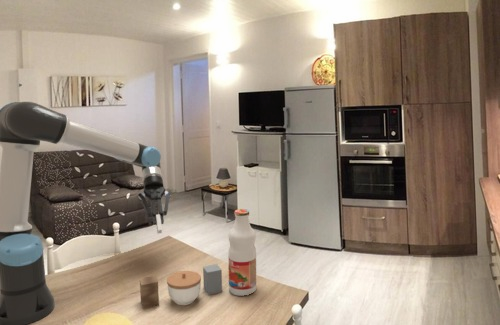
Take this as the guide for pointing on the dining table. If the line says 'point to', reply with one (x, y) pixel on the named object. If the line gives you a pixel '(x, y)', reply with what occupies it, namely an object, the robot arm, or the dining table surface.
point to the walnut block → (149, 292)
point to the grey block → (212, 279)
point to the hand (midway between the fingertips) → (159, 231)
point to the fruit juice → (242, 255)
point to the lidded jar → (184, 287)
